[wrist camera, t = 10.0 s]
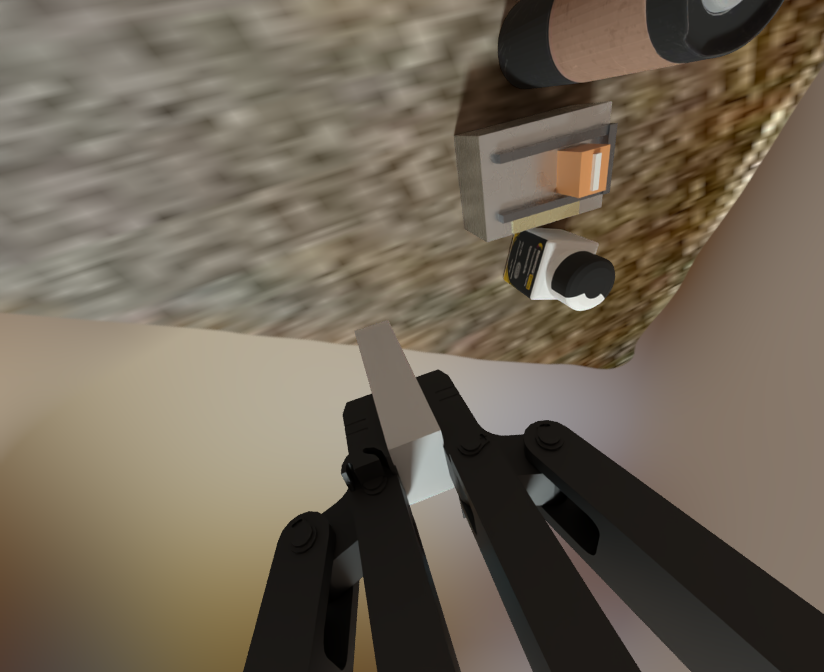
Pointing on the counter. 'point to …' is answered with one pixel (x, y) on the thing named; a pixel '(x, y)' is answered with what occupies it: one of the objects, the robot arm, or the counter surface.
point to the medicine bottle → (559, 268)
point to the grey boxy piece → (527, 169)
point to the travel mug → (620, 36)
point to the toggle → (582, 169)
